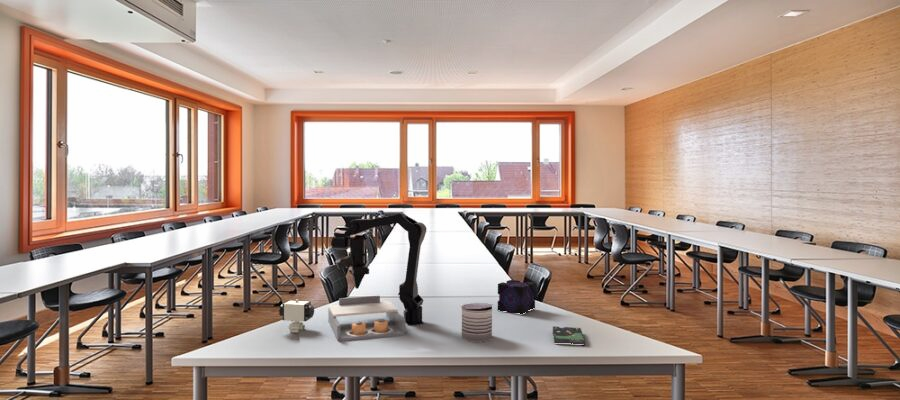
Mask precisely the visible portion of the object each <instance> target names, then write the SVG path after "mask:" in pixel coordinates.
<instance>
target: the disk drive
mask: <svg viewBox="0 0 900 400" xmlns="http://www.w3.org/2000/svg"><path fill="white" fill-rule="evenodd" d="M552 336H554V337H553V343H571V344H572V343H573V344H586V342H585V341H586V340H585V337H584V334H583V331H582V328H581V327H568V326H564V327H560V326H552Z"/></svg>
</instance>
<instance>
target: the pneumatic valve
mask: <svg viewBox="0 0 900 400" xmlns="http://www.w3.org/2000/svg"><path fill="white" fill-rule="evenodd" d="M278 314H279V316H280V317H281V318H282V321H284V322H285V321H288V322H290V321H291V323H289V325H288V329H289V333H291V334H298V333H299V331H304V330H305V328H306V326H305V324H304V322H307V321H309V320H310V319H312V318H313V317H314V315H315V306H314V305H312V301H307V300H305V301H303V300H299V299H298V298H297V299H295V300H287V301H285V302H282V304H281V305H280V306H279V309H278Z"/></svg>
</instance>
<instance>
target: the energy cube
mask: <svg viewBox="0 0 900 400" xmlns="http://www.w3.org/2000/svg"><path fill="white" fill-rule="evenodd" d="M497 294H498V295H499V296H498V300H497V311H498V310H500V311H509V312H508V313H512V314H513V313H520V314H523V313H525V312H526V311H528V310H530V309H533V308H535V309H536V299H534V298H535V297H534V295H535V294H536V282H532V281H525V282H522V281H521V280H516V279H508V280H506V282H499V283H497ZM500 311H499V312H500ZM528 312H529V311H528Z"/></svg>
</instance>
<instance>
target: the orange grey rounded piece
mask: <svg viewBox="0 0 900 400" xmlns="http://www.w3.org/2000/svg"><path fill="white" fill-rule="evenodd" d="M388 321H389V320H386V319H383V318H379V319H376V320H374V332H375V333H386V332H388Z"/></svg>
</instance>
